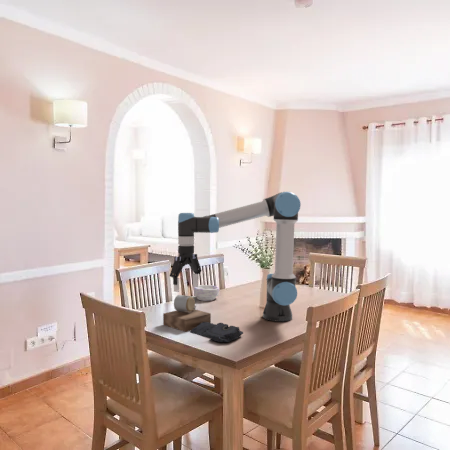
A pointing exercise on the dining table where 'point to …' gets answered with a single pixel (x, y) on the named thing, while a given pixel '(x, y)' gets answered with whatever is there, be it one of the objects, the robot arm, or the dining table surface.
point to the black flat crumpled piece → (217, 331)
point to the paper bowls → (206, 292)
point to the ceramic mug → (184, 303)
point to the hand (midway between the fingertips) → (186, 289)
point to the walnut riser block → (185, 319)
